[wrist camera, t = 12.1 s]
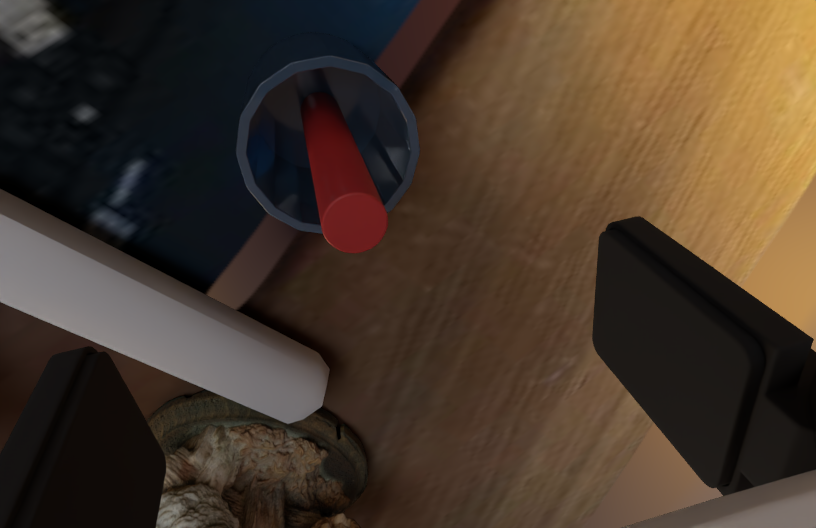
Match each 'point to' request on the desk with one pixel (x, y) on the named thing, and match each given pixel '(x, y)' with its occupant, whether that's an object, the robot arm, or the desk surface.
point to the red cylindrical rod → (341, 179)
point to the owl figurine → (254, 467)
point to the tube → (151, 315)
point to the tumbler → (284, 135)
